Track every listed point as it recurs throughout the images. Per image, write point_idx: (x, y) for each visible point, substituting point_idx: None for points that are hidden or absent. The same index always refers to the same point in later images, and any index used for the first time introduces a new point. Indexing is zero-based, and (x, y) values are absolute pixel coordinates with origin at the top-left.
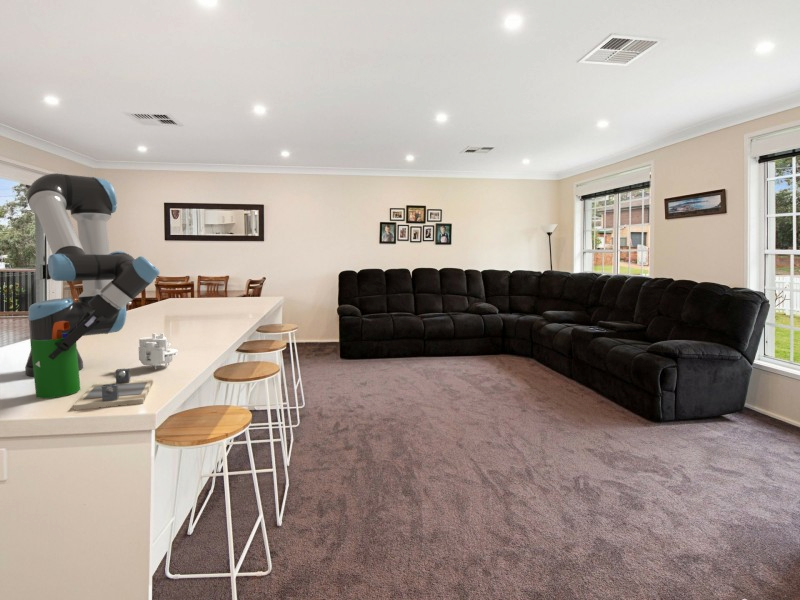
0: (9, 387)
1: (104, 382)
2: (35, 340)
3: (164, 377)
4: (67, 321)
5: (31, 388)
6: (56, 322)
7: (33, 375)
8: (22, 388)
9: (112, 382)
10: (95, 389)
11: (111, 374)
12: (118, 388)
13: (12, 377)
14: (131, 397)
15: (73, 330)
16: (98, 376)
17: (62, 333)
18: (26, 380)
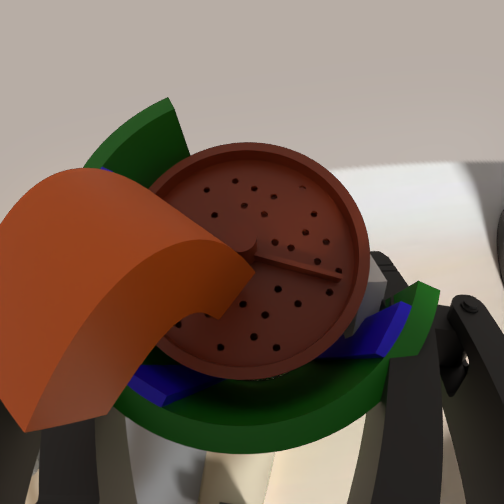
0: (403, 170)
1: (269, 469)
2: (121, 130)
3: None
4: (27, 408)
5: (369, 226)
6: (36, 194)
7: (501, 215)
8: (379, 202)
9: (252, 492)
10: (158, 438)
11: (449, 452)
12: (136, 497)
13: (498, 172)
14: (35, 490)
15: (44, 442)
16: (444, 416)
17: (417, 298)
18: (468, 203)
